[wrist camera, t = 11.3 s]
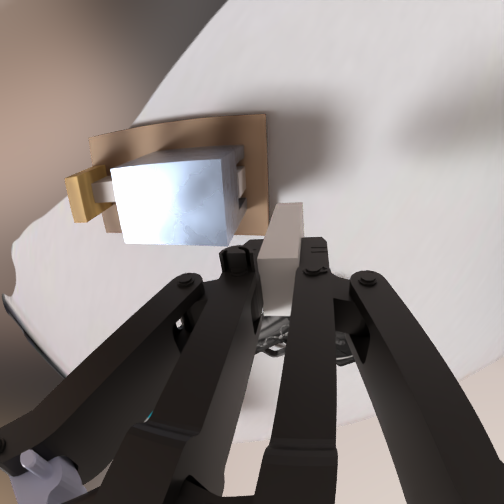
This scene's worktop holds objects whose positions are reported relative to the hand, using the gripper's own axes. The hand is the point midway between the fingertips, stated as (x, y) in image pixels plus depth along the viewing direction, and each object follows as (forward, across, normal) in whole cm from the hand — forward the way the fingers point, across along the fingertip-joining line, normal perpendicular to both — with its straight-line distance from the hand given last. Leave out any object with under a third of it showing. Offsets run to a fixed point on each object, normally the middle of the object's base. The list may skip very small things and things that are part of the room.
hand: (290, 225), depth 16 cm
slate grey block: (+10, +9, -1) cm, 14 cm away
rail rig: (+11, +13, -1) cm, 17 cm away
